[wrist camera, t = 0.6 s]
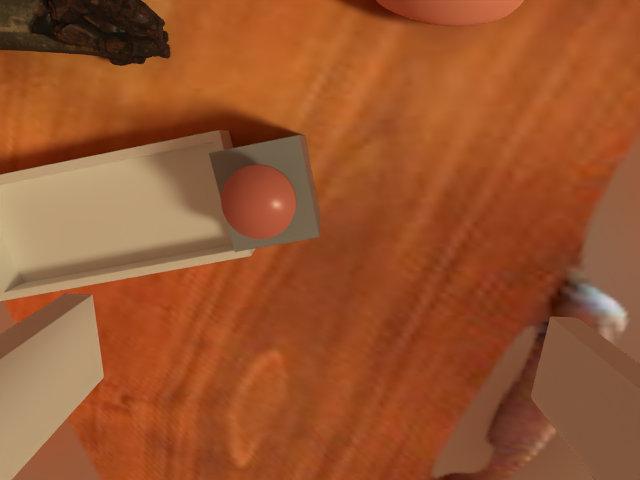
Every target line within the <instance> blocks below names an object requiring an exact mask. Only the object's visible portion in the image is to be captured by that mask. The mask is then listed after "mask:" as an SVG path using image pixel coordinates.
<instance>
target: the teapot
mask: <svg viewBox="0 0 640 480" xmlns="http://www.w3.org/2000/svg"><path fill="white" fill-rule="evenodd" d="M376 1H377V2H378V3H379V4H380V5H382V6H383V7H384V8H386V9H388V10H390V11H392V12H394V13H396V14H399V15H401V16H404V17H407V18H410V19H413V20H416V21H420V22H424V23H429V24H435V25H445V26H464V25H475V24H483V23H487V22H492V21H496V20H498V19H501V18H504V17H506V16H507V15H508V14H510V13H511V12H512V11H514V10H515V9H516V8H517V7H518V6H520V5H521V4H522V2H523V1H524V0H376Z"/></svg>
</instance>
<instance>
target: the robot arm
mask: <svg viewBox="0 0 640 480" xmlns="http://www.w3.org/2000/svg"><path fill="white" fill-rule="evenodd" d="M103 377H104V375H103V368H102V360H101V353H100V346H99V339H98V332H97V325H96V317H95V310H94V303H93V296H92V295H87V294H64V295H62V296H61V297H59V298H57V299H56V300H54V301H53V302H51V303H49V304H48V305H46V306H45V307H43V308H41V309H40V310H38V311H37V312H35V313H33V314H32V315H30V316H29V317H27V318H25V319H24V320H22V321H21V322H19V323H17V324H16V325H14V326H13V327H11V328H9V329H8V330H6V331H5V332H3V333H1V334H0V480H12V478H13V477H14V476H15V475H16V474H17V473H18V472H19V470H21V468H22V467H23V466H24V465H25V464H26V463H27V462H28V461H29V460H30V458H31V457H32V456H33V455H34V454H35V453H36V451H38V449H39V448H40V447H41V446H42V445H43V444H44V443H45V442H46V441H47V439H48V438H49V437H50V436H51V435H52V434H53V433H54V432H55V431H56V430H57V428H58V427H59V426H60V425H61V424H62V423H63V422H64V421H65V420H66V418H67V417H68V416H69V415H70V414H71V413H72V412H73V411H74V410H75V409H76V407H77V406H78V405H79V404H80V403H81V402H82V401H83V400H84V399H85V397H86V396H87V395H88V394H89V393H90V392H91V391H92V390H93V389H94V387H95V386H96V385H97V384H98V383H99V382H100V381H101V380H102V379H103ZM531 399H532V400H533V401H534V402H535V404H536V405H537V406H538V408H539V409H540V410H541V411H542V413H543V414H544V415H545V417H546V418H547V419H548V420H549V422H550V423H551V424H552V426H553V427H554V428H555V429H556V431H557V432H558V433H559V434H560V436H561V437H562V439H564V441H565V442H566V443H567V445H568V446H569V448H570V449H571V450H572V451H573V453H574V454H575V455H576V457H577V458H578V459H579V460H580V462H581V463H582V464H583V466H584V467H585V468H586V469H587V471H588V472H589V473H590V474H591V476H592V477H593V478H594V480H640V364H639V363H638V362H636V361H635V360H634V359H632V358H631V357H630V356H628V355H627V354H626V353H624V352H623V351H621V350H620V349H619V348H617V347H616V346H615V345H613V344H612V343H611V342H609V341H608V340H607V339H605V338H604V337H602V336H601V335H600V334H598V333H597V332H596V331H594V330H593V329H592V328H590V327H589V326H587V325H586V324H585V323H583V322H582V321H581V320H579V319H578V318H567V317H550V321H549V325H548V329H547V333H546V337H545V341H544V345H543V349H542V353H541V357H540V362H539V366H538V370H537V374H536V378H535V382H534V386H533V390H532V394H531Z"/></svg>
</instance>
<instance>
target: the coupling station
mask: <svg viewBox="0 0 640 480" xmlns="http://www.w3.org/2000/svg"><path fill="white" fill-rule="evenodd" d="M319 232H320V212H319V206H318V201H317V196H316V191H315V186H314V181H313V176H312V171H311V165H310V160H309V155H308V150H307V145H306V140H305V136H303V135H296V136H291V137H286V138H282V139H277V140H272V141H267V142H262V143H257V144H252V145H247V146H242V147H237V148H233V144H232V140H231V136H230V132H229V131H225V130H217V131H212V132H207V133H202V134H197V135H192V136H187V137H182V138H177V139H173V140H168V141H163V142H158V143H153V144H148V145H143V146H138V147H133V148H128V149H124V150H119V151H114V152H109V153H104V154H99V155H94V156H89V157H84V158H79V159H74V160H70V161H65V162H60V163H55V164H50V165H45V166H40V167H35V168H30V169H25V170H21V171H16V172H11V173H6V174H1V175H0V301H4V300H9V299H15V298H20V297H26V296H31V295H37V294H42V293H48V292H54V291H59V290H65V289H70V288H76V287H81V286H87V285H92V284H98V283H103V282H109V281H114V280H120V279H126V278H131V277H137V276H142V275H148V274H153V273H159V272H164V271H170V270H175V269H181V268H186V267H192V266H197V265H203V264H209V263H214V262H220V261H225V260H231V259H236V258H242V257H247V256H251V255H252V253H253V252H254V250H255V248H261V247H266V246H272V245H277V244H283V243H288V242H294V241H299V240H305V239H310V238H316V237H319Z"/></svg>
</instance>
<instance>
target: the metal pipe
mask: <svg viewBox="0 0 640 480" xmlns="http://www.w3.org/2000/svg"><path fill="white" fill-rule="evenodd" d="M164 25H165V22H164V20H163V19H161V18H160V17H159V16H158V15H157V14H156V13H155V12H154V11H153V10H151V9H150V8H149V7H148V6H147V5H146V4H145V3H144V2H142V1H141V0H0V50H19V51H37V52H54V53H69V54H85V55H95V56H101V57H103V58H108V59H110V62H111V63H112V64H114V65H120V66H123V65H127V64H131V63H137V64H143V63H144V62H145V60H146V58H149V57H152V56H154V57H155V56H160V57H163V58H169V57H170V47H169V45H168V44H166V43H167V41H168V40H169V39H168V33H167V32H166V31H163V26H164Z"/></svg>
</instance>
